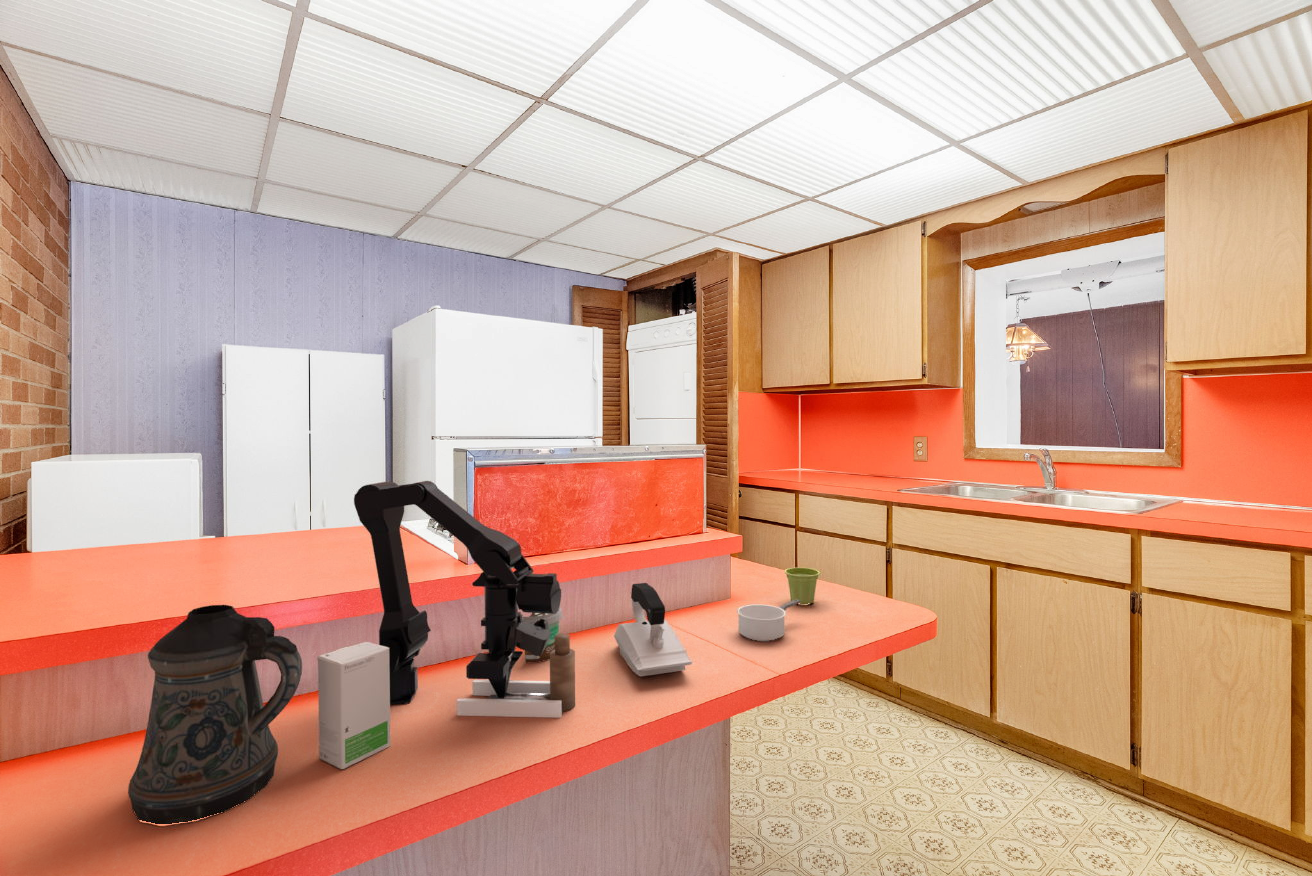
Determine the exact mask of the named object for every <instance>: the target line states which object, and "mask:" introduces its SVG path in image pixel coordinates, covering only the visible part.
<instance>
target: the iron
mask: <svg viewBox="0 0 1312 876" xmlns="http://www.w3.org/2000/svg"><path fill="white" fill-rule="evenodd" d="M630 593H631V594H630V595H631V596H630V599H631V608H632V613H633V616H634V620H635V622H627V623H619V624H618V625H617V628H616V630H615V632H614V635H613V637H614V639H615V641H616V643H617V646H618V647H619V654H620V656H621V657H622V658H623V659H624V660H625V662H626V664H627V665H628V667H629V668H630V669H631V671H632V672H634V673H635V675H637V676H639V677H646V676H653V675H654V676H655V675H660V674H665V673H666V674H667V673H668V674H669V673H673V672H681V671H685V670H686V669H687V668H686V666H691V665H692V664H693V661H692V660H691V658H690V657H689V655H688V653H687V650H686V649H685V647H684V646H683V644H682V642H681V640H680V639H679V637H678V635H677V634H676V633H675V631H674V629H673V628H672V626H671V625H670V624H669V622H667V620H666V619H665V618H666V617H665V616H666V607H665V605H664V603H663V601H662V600H661V597H660V595H659V594H658V592H657V591H656V589H655V588H654V587H653V586H652V585H650V584H649V583H647V582H641V583H640V582H639V583H633V584H632V586H631V592H630ZM644 611H645V613H644ZM645 614H646V615H645Z"/></svg>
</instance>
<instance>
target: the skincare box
mask: <svg viewBox="0 0 1312 876" xmlns="http://www.w3.org/2000/svg"><path fill="white" fill-rule="evenodd" d="M316 659H317V671H318V672H317V673H318V675H317V676H318V679H317V680H318V686H317V687H318V758H319V759H320V760H322V761H324V762H326V763H328V764H329V765H331V766H334V767H335V768H338V769H340V770H344V769H347V768H348V767H350V766H352V765H355V764H357V763H359V762H360V761H361V762H362V760H365V759H367V758H369V757H371V756H373V755H375V754H377V753H379V752H381V751H384V750H385V749H387V748H389V747H390V746H391V744H392V743H391V704H390V672H389V648H388V647H385V646H381V645H379V644H378V643H377V644H376V643H373V642H370V641H364V642H360V643H357V644H354V645H350V646H345V647H341V648H338V649H337V650H334V651H330V652H327V653H326V652H325V653H323V654H321V655H318V656H317V658H316Z"/></svg>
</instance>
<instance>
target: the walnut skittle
mask: <svg viewBox="0 0 1312 876" xmlns="http://www.w3.org/2000/svg"><path fill="white" fill-rule="evenodd" d="M570 644H571V643H570V634H569V633H564V632H562V633H559V634H557V635H555V650H553V651H551V652H550V659H549V681H550V700H562V713H563V712H568V711H570V710H573V709H574V708H575V707H576V651H575V650H574V649H573V648H571V646H570Z"/></svg>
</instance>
